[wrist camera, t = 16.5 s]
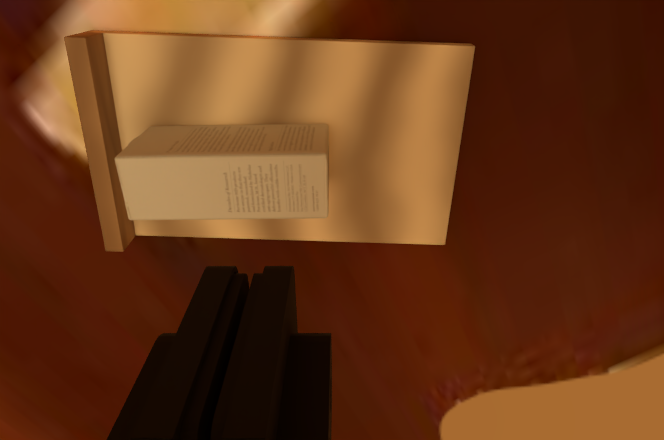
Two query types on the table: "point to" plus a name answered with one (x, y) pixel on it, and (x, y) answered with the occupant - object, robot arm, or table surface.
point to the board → (285, 108)
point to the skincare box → (226, 172)
